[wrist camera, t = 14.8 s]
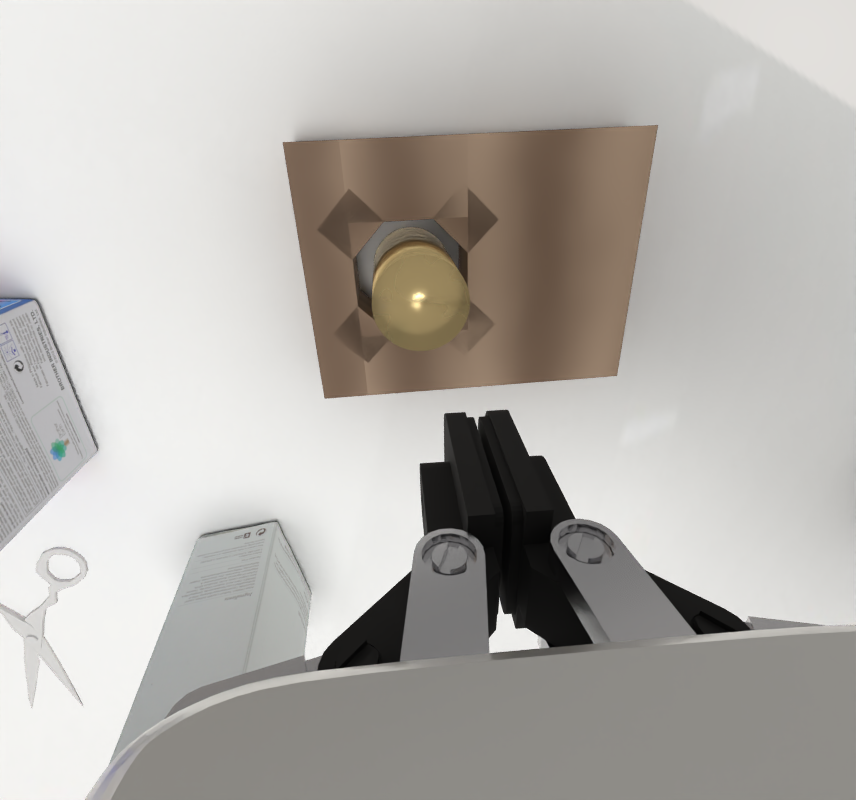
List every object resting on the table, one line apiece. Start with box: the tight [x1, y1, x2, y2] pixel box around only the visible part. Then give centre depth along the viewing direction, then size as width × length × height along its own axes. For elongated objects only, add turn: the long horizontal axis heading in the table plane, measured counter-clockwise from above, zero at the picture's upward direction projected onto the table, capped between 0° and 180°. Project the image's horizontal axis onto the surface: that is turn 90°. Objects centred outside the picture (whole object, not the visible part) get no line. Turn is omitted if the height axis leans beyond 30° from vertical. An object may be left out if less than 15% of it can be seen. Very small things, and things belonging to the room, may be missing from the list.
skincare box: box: [109, 522, 311, 765], centre depth 28 cm, size 8×6×15 cm
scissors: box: [0, 547, 88, 708], centre depth 36 cm, size 11×1×20 cm
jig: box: [283, 125, 658, 398], centre depth 24 cm, size 16×12×3 cm
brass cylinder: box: [372, 227, 470, 351], centre depth 22 cm, size 4×4×7 cm
